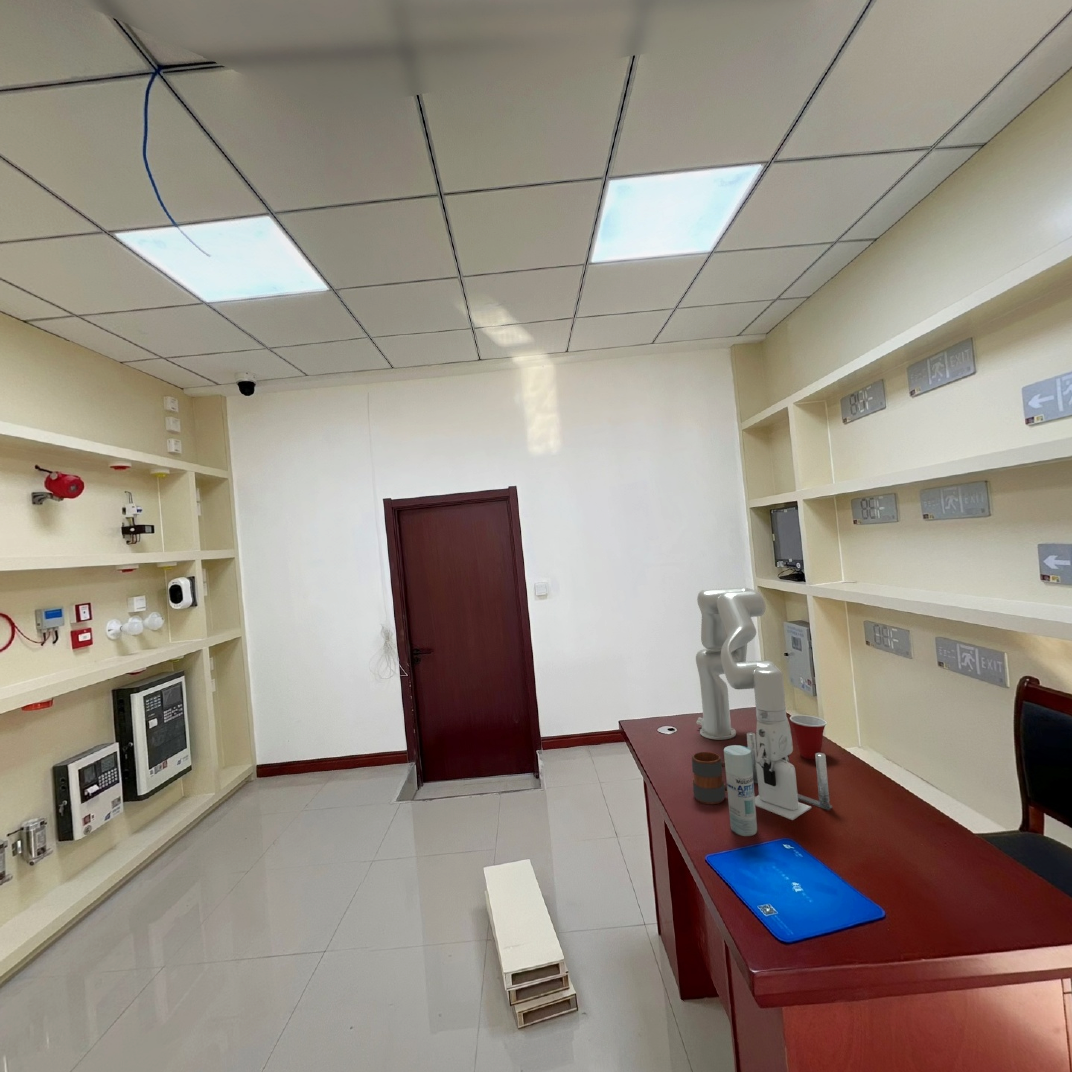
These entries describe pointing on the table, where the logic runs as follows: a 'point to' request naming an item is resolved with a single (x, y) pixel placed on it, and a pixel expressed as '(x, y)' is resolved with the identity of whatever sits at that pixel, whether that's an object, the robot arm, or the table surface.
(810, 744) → the plastic cup
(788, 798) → the photo printer
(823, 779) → the gate
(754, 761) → the gate
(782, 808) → the mat
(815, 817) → the table surface
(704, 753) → the mug
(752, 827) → the spray paint can
